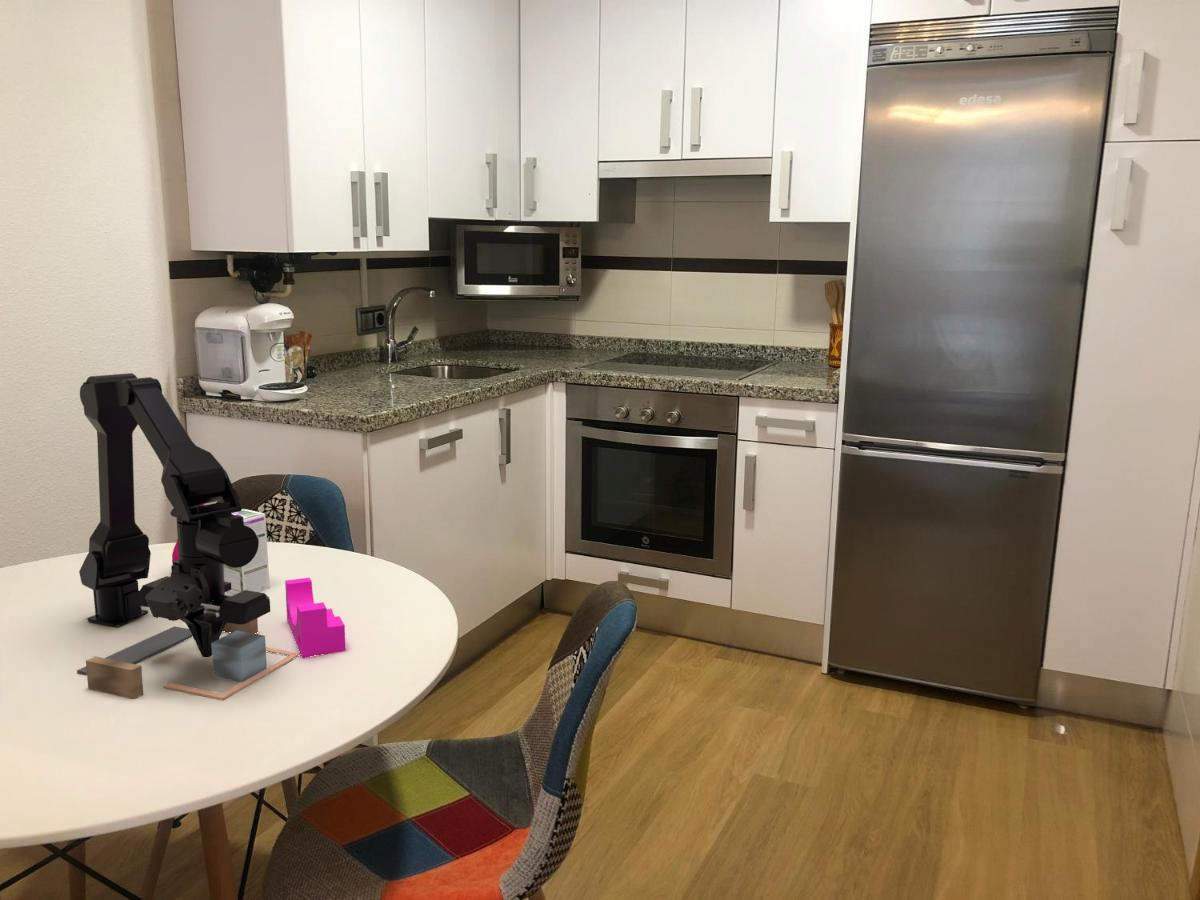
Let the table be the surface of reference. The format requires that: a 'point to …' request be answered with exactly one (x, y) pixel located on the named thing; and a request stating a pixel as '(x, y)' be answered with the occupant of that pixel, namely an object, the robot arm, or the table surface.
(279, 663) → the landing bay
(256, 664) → the cube
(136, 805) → the table surface
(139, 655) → the grey flat board
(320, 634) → the toy block
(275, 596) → the table surface
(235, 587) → the syrup box
